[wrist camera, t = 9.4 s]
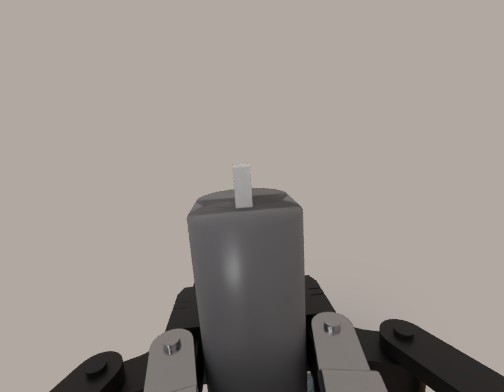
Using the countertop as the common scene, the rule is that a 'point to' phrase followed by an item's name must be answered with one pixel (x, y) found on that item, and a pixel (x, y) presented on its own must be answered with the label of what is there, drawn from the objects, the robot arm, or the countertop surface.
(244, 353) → the candle
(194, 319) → the robot arm
